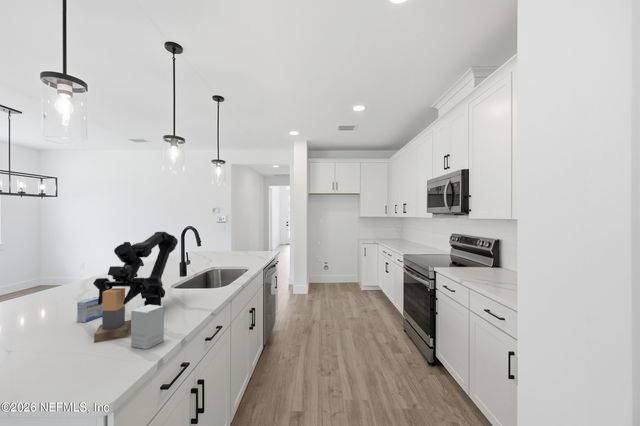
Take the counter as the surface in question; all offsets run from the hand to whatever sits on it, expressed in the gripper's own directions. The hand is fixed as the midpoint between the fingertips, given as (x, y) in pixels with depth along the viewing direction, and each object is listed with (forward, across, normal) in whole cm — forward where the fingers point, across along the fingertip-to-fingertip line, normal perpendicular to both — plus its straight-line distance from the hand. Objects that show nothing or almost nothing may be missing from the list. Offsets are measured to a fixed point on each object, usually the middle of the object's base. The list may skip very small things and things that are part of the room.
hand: (111, 304), depth 106 cm
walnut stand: (+8, 0, +10) cm, 12 cm away
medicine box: (-4, -22, +22) cm, 31 cm away
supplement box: (+14, +17, +4) cm, 22 cm away
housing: (+5, 0, +7) cm, 9 cm away
